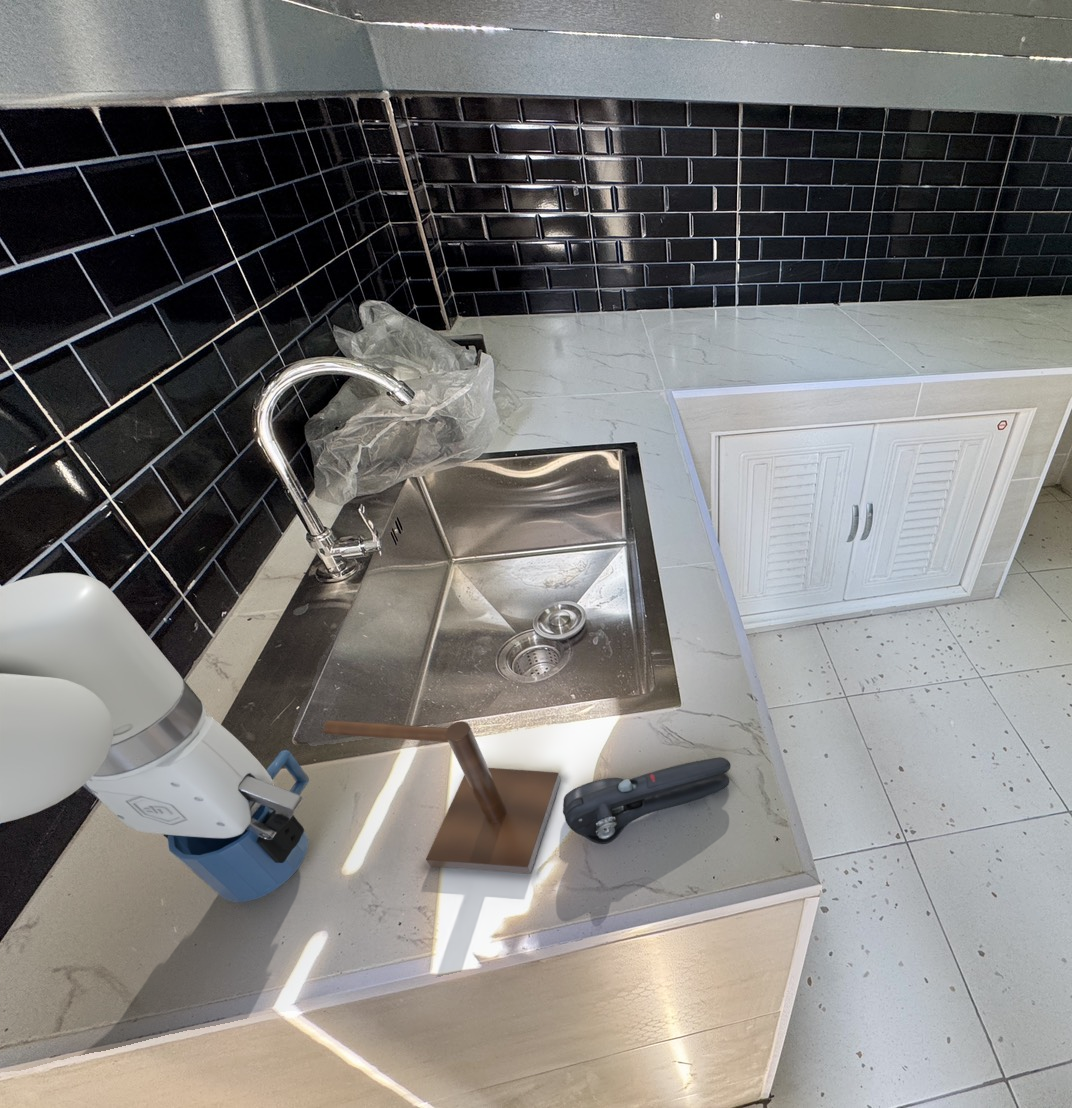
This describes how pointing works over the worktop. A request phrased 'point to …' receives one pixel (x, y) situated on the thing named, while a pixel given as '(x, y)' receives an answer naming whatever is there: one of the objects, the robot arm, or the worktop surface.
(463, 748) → the mug stand
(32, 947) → the worktop surface
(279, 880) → the mug
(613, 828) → the can opener
